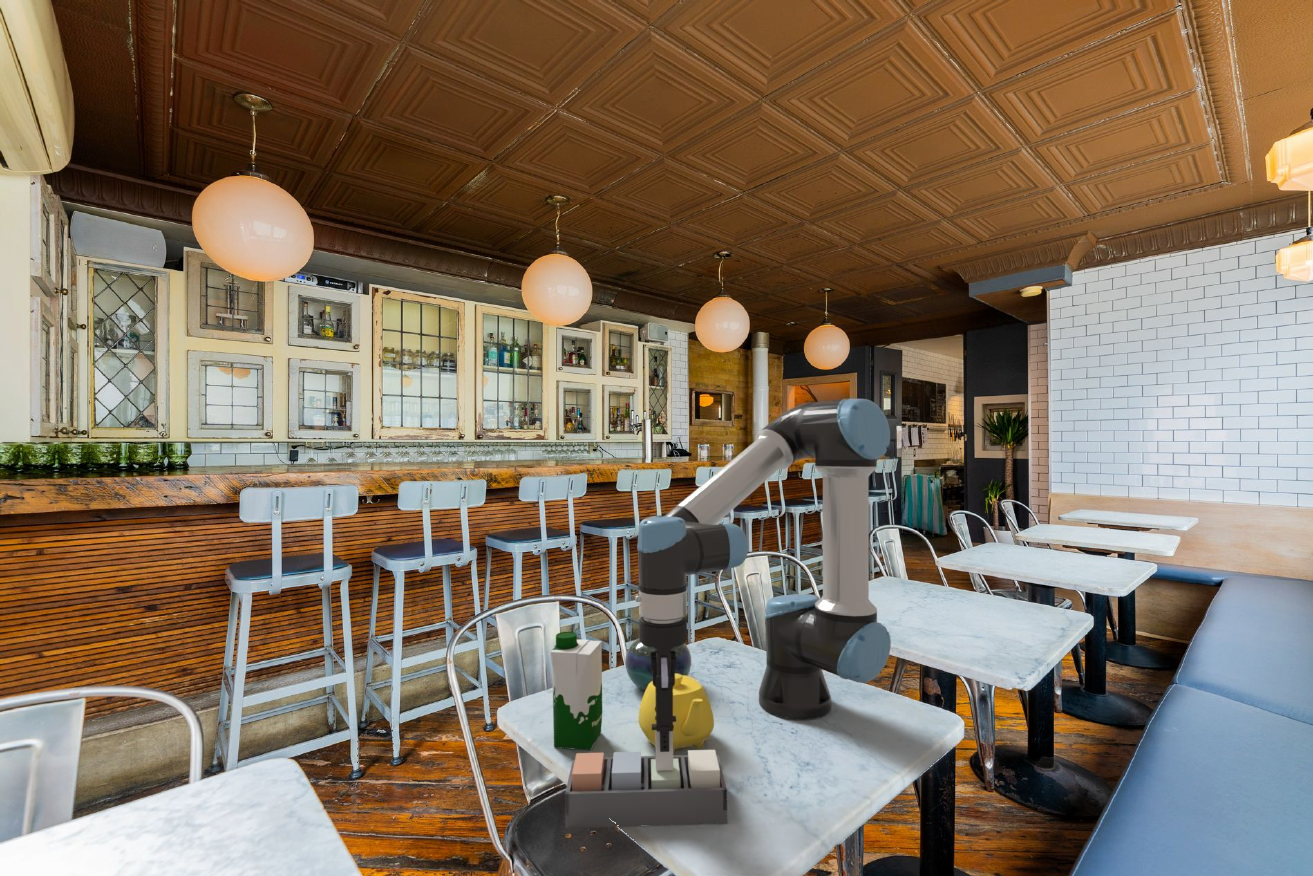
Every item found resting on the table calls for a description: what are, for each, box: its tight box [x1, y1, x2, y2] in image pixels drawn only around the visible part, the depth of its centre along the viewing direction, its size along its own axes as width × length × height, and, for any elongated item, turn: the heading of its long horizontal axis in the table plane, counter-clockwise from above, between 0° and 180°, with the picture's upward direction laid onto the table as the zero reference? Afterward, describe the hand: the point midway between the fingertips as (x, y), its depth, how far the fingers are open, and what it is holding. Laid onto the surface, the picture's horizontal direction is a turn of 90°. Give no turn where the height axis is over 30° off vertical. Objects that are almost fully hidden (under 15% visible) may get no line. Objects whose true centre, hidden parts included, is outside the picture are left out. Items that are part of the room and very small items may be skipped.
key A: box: [687, 749, 720, 788], centre depth 92 cm, size 4×6×3 cm
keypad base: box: [564, 753, 729, 829], centre depth 92 cm, size 24×10×5 cm, turn 91°
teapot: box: [638, 674, 715, 755], centre depth 111 cm, size 13×20×12 cm
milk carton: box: [549, 631, 603, 751], centre depth 113 cm, size 9×9×20 cm
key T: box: [651, 758, 681, 789], centre depth 92 cm, size 4×6×3 cm
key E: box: [572, 752, 605, 792], centre depth 92 cm, size 4×6×3 cm
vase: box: [624, 637, 692, 691], centre depth 137 cm, size 15×15×13 cm
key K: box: [612, 751, 642, 791], centre depth 92 cm, size 4×6×3 cm
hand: (664, 767), depth 92 cm, fingers closed
